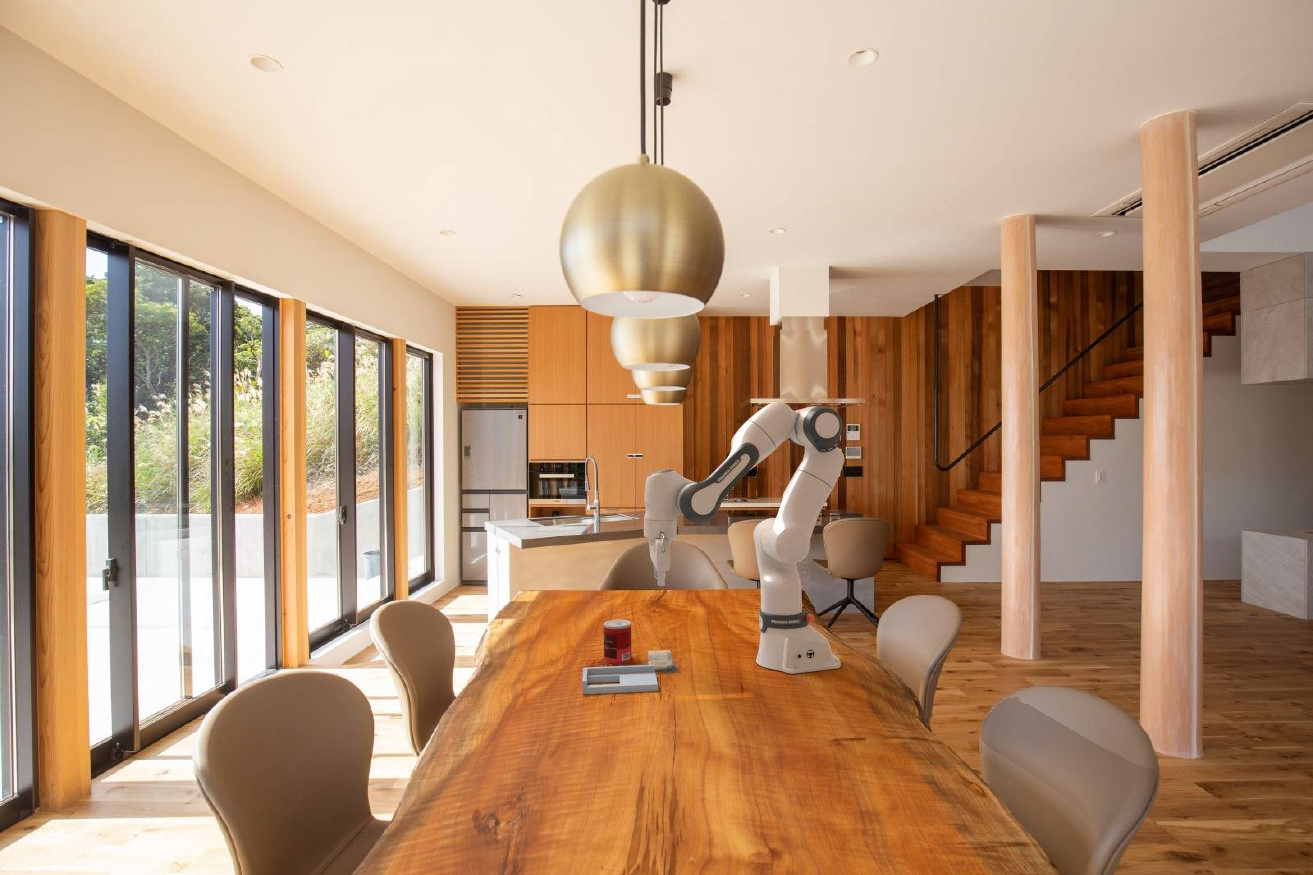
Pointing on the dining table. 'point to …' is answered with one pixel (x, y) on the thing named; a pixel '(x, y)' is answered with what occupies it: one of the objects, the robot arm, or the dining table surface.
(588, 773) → the dining table surface
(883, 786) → the dining table surface
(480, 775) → the dining table surface
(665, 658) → the white boxy piece
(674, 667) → the pad
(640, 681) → the grey slotted tray
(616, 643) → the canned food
